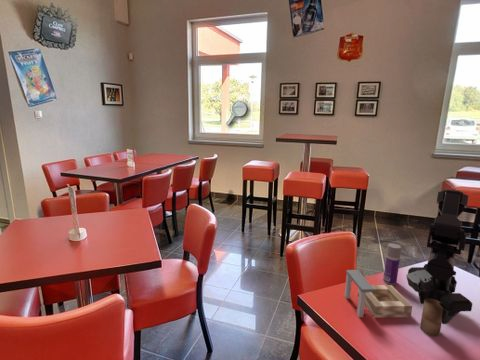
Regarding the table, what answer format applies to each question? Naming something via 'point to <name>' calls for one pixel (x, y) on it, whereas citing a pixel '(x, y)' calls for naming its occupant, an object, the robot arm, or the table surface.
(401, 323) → the table surface
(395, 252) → the container
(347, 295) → the grey arch frame
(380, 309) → the socket block
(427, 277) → the robot arm
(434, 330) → the peg
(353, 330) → the table surface
